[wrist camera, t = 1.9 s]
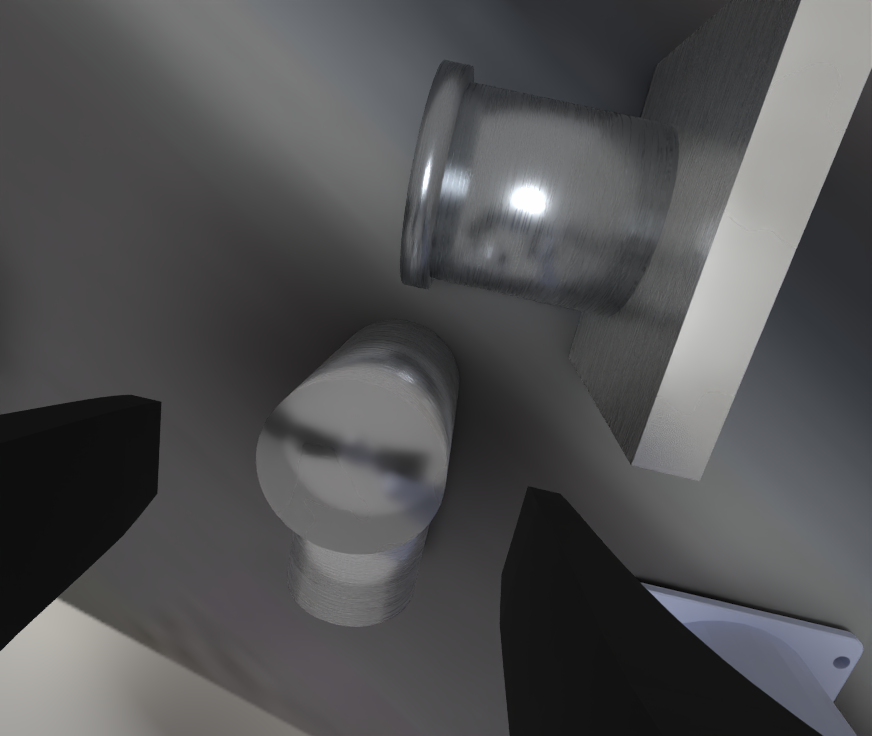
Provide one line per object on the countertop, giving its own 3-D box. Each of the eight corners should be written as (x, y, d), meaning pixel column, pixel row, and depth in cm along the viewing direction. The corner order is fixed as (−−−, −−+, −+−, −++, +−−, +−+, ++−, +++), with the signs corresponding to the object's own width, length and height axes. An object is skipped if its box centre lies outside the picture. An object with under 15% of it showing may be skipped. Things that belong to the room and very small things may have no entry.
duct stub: (700, 76, 13) (928, -70, 6) (606, 365, 16) (699, 480, 9) (466, 27, 13) (446, -165, 7) (409, 320, 16) (351, 400, 9)
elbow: (345, 306, 16) (266, 360, 10) (471, 335, 16) (465, 405, 10) (311, 524, 18) (232, 667, 12) (421, 550, 18) (392, 706, 12)
